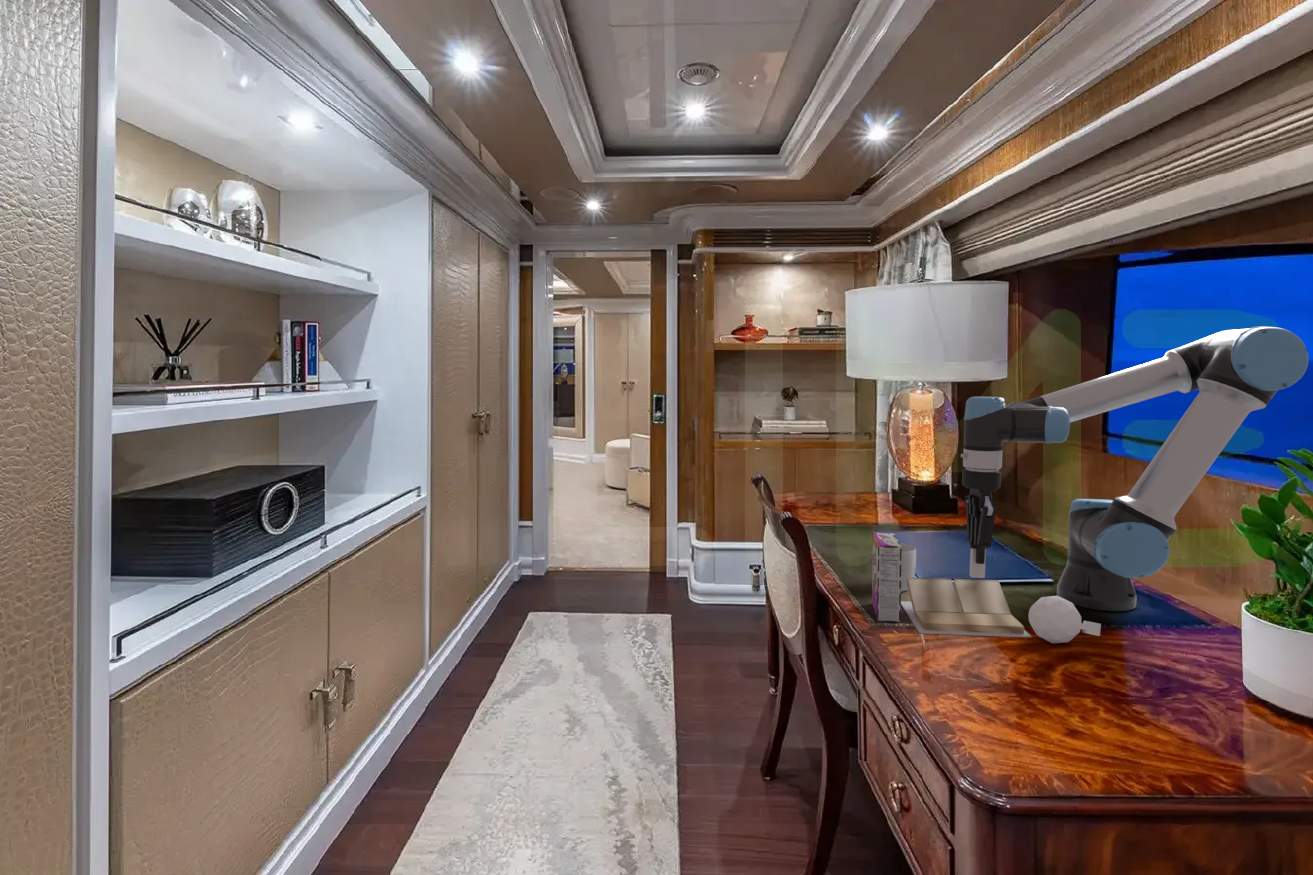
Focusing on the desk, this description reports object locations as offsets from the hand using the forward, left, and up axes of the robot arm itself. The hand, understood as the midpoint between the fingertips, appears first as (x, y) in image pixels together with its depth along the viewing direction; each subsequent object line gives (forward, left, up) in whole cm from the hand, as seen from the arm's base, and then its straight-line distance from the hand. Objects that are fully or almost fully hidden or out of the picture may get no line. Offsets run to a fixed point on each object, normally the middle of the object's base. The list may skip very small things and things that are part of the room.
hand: (977, 576), depth 148 cm
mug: (+13, -15, -8) cm, 22 cm away
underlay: (+5, +6, -8) cm, 11 cm away
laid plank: (+5, +11, -8) cm, 14 cm away
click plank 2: (0, +2, -4) cm, 5 cm away
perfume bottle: (-11, +17, -8) cm, 21 cm away
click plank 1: (+10, +2, -5) cm, 11 cm away
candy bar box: (+20, +4, -8) cm, 22 cm away
